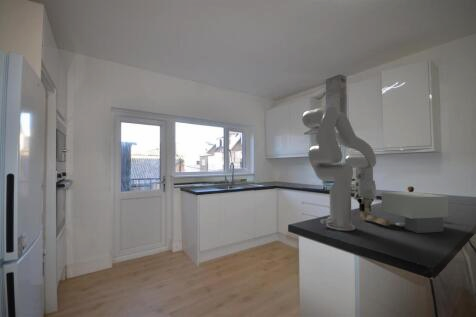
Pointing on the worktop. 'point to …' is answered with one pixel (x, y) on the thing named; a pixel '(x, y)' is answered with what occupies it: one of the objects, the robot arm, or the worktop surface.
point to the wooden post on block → (367, 215)
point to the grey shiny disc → (400, 224)
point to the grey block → (417, 210)
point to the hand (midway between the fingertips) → (365, 210)
